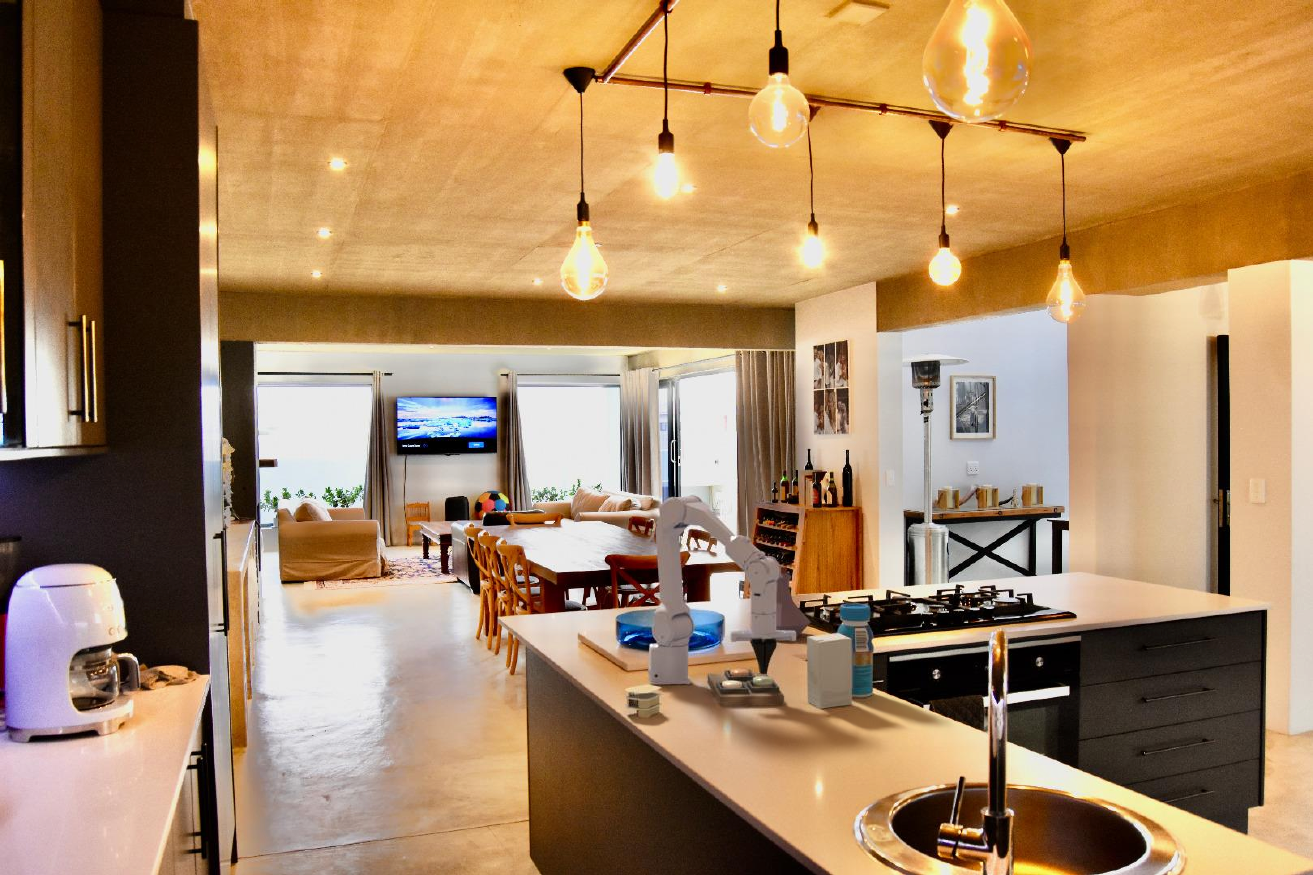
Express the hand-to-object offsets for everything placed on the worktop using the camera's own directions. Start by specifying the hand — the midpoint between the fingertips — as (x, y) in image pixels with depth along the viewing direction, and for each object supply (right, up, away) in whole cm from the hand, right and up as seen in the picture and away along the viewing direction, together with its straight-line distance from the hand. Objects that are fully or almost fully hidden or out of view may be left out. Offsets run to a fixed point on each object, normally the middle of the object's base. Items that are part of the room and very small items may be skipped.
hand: (763, 672), depth 220 cm
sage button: (0, -4, 0) cm, 3 cm away
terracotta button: (-4, -4, +10) cm, 11 cm away
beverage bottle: (+21, -6, +4) cm, 22 cm away
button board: (-4, -6, +4) cm, 8 cm away
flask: (+13, -5, +66) cm, 68 cm away
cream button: (-7, -4, -1) cm, 8 cm away
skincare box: (+14, -6, -5) cm, 16 cm away
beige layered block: (-27, -6, -12) cm, 30 cm away
